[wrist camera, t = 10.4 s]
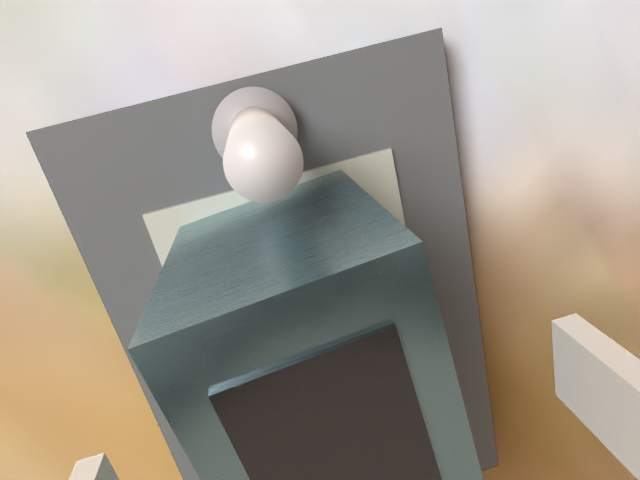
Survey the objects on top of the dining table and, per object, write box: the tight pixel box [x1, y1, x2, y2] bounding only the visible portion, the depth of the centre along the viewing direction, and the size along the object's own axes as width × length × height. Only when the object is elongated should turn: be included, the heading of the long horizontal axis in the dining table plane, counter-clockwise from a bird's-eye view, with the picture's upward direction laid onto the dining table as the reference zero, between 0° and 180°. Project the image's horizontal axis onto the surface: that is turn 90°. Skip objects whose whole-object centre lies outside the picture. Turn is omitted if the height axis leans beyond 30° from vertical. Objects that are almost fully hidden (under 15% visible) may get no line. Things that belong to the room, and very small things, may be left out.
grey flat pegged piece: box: [26, 28, 498, 480], centre depth 16 cm, size 14×20×8 cm
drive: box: [127, 169, 483, 480], centre depth 15 cm, size 6×12×8 cm, turn 18°
